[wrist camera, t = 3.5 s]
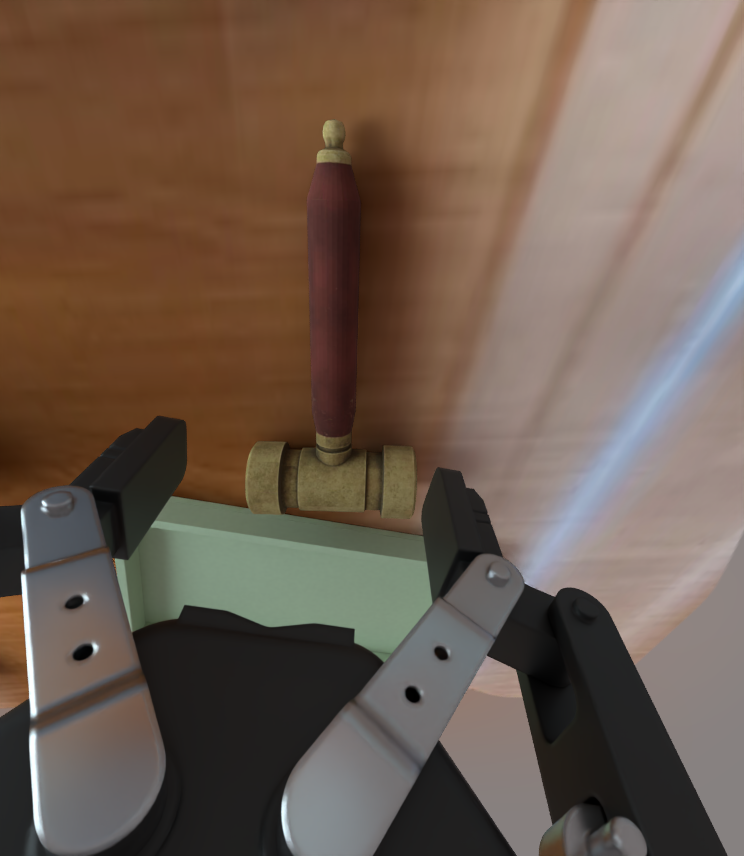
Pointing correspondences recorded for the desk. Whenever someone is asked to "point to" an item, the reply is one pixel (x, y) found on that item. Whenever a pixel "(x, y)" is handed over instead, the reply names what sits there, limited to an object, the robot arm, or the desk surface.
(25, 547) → the robot arm
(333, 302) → the gavel
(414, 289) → the desk surface
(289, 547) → the tray
